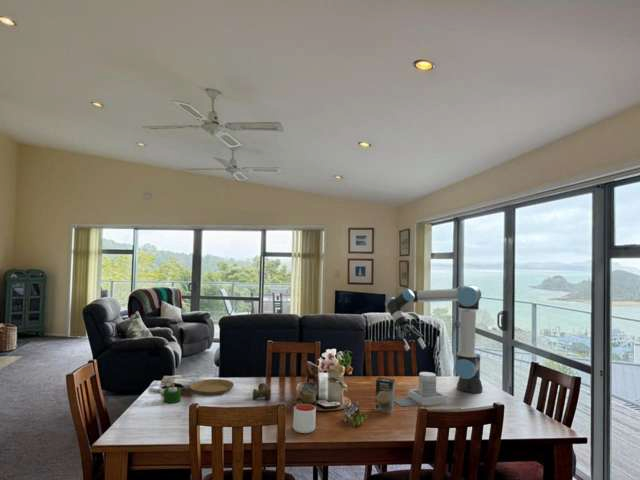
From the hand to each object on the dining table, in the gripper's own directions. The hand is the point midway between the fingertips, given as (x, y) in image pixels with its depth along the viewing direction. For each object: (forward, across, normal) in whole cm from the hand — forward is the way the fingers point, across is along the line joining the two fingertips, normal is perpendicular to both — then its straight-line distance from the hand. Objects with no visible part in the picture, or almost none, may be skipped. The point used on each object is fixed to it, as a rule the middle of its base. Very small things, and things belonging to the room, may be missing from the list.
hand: (416, 348), depth 260 cm
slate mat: (+26, +19, -10) cm, 34 cm away
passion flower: (+34, +62, -3) cm, 71 cm away
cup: (+31, +88, -6) cm, 94 cm away
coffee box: (+30, +39, -7) cm, 49 cm away
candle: (-14, +130, -53) cm, 141 cm away
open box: (+28, +5, -8) cm, 30 cm away
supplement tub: (+29, +5, -8) cm, 30 cm away
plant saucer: (-20, +106, -59) cm, 123 cm away
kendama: (-4, +85, -42) cm, 95 cm away
